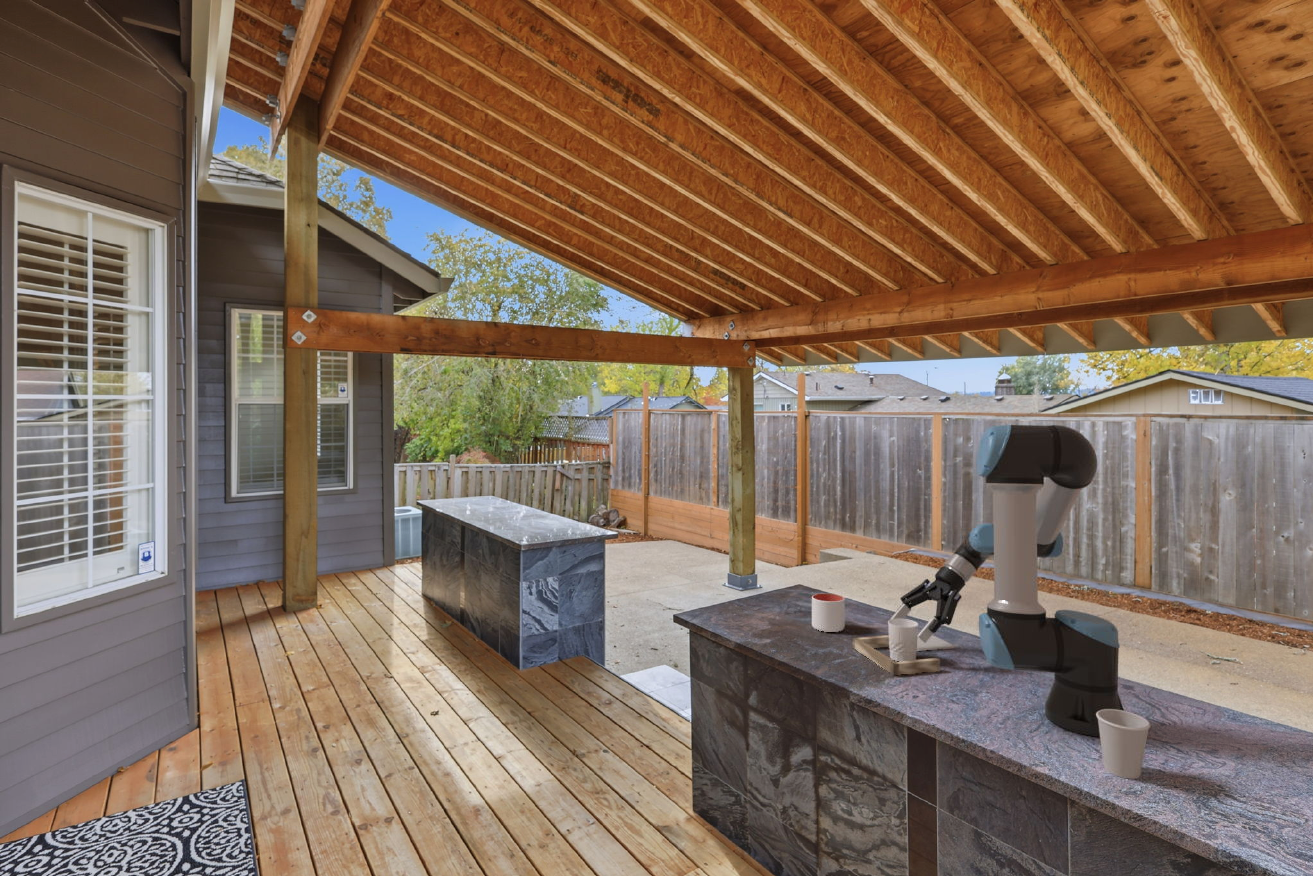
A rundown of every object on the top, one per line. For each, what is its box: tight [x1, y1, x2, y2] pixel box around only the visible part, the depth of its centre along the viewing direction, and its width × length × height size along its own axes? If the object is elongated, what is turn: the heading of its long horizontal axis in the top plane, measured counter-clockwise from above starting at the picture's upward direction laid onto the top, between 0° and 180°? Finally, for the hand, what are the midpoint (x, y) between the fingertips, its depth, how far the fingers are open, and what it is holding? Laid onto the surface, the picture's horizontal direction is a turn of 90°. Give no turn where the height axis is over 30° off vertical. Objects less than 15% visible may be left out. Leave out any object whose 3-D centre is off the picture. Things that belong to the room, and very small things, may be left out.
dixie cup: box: [1096, 709, 1151, 780], centre depth 127 cm, size 8×8×10 cm
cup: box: [811, 592, 846, 633], centre depth 212 cm, size 10×10×10 cm
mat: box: [916, 634, 956, 652], centre depth 199 cm, size 12×12×1 cm
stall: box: [851, 634, 941, 676], centre depth 185 cm, size 14×21×3 cm, turn 13°
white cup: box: [887, 618, 919, 662], centre depth 186 cm, size 8×8×10 cm
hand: (906, 631), depth 187 cm, fingers open, 13 cm apart
